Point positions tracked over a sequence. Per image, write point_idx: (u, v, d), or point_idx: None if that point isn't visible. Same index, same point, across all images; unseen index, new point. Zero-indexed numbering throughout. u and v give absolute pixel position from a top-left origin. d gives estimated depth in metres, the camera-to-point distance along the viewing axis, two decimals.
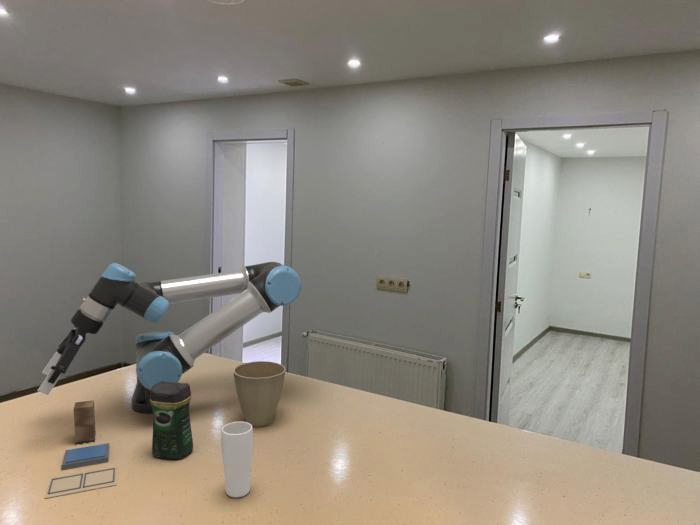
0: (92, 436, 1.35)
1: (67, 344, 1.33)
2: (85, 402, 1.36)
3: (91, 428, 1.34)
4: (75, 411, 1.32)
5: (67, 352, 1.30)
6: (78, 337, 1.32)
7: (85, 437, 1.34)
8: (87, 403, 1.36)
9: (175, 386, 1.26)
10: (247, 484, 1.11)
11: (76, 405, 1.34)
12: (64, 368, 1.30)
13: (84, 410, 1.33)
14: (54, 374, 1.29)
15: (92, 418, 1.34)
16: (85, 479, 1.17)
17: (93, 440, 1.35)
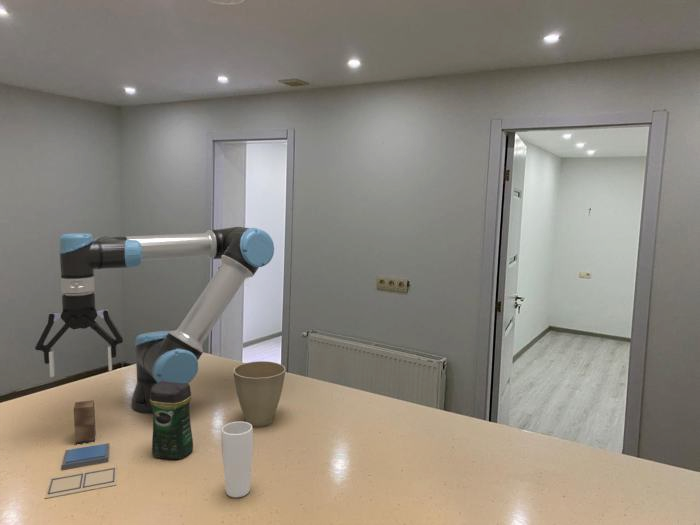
0: (92, 436, 1.35)
1: (96, 325, 1.33)
2: (85, 402, 1.36)
3: (92, 428, 1.34)
4: (75, 411, 1.32)
5: (114, 326, 1.35)
6: (107, 310, 1.34)
7: (85, 437, 1.34)
8: (87, 403, 1.36)
9: (175, 386, 1.26)
10: (247, 484, 1.11)
11: (76, 405, 1.34)
12: (113, 339, 1.37)
13: (84, 410, 1.33)
14: (115, 348, 1.36)
15: (92, 418, 1.34)
16: (85, 479, 1.17)
17: (93, 440, 1.35)
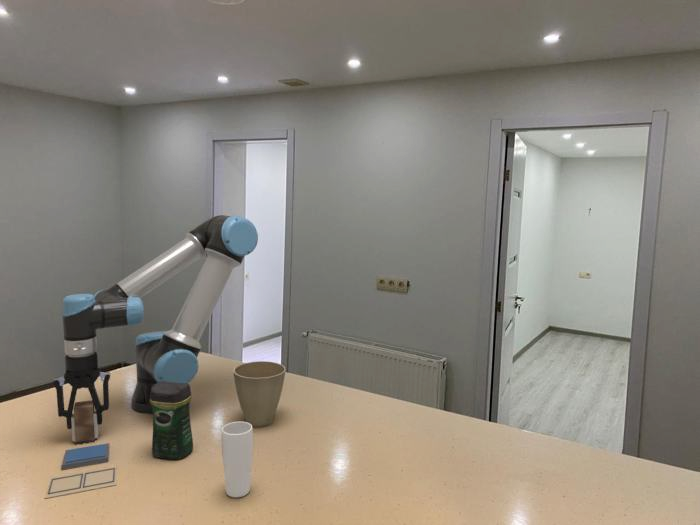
0: (92, 436, 1.35)
1: (93, 388, 1.34)
2: (85, 402, 1.36)
3: (91, 428, 1.34)
4: (75, 411, 1.32)
5: (108, 392, 1.36)
6: None
7: (85, 437, 1.34)
8: (87, 403, 1.36)
9: (175, 386, 1.26)
10: (247, 484, 1.11)
11: (76, 405, 1.34)
12: (101, 406, 1.38)
13: (84, 410, 1.33)
14: (101, 415, 1.37)
15: (92, 418, 1.34)
16: (85, 479, 1.17)
17: (93, 440, 1.35)
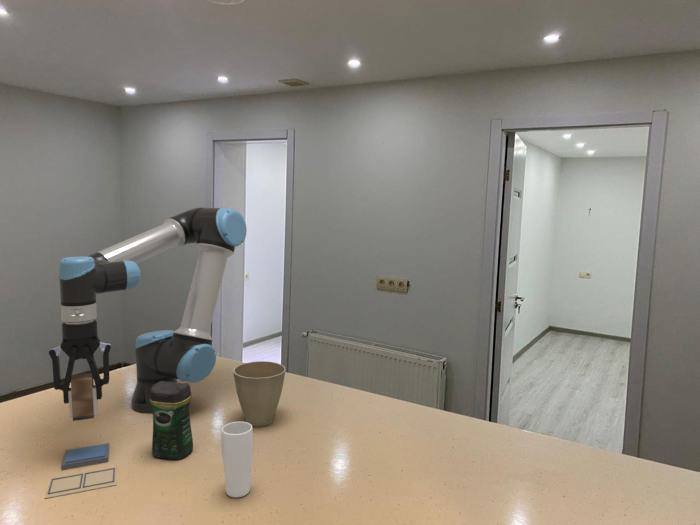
0: (91, 411, 1.24)
1: (92, 359, 1.23)
2: (83, 375, 1.25)
3: (90, 403, 1.23)
4: (72, 384, 1.21)
5: (108, 364, 1.25)
6: (110, 346, 1.25)
7: (83, 412, 1.23)
8: (86, 376, 1.25)
9: (175, 386, 1.26)
10: (247, 484, 1.11)
11: (73, 378, 1.23)
12: None
13: (83, 383, 1.22)
14: None
15: (91, 392, 1.23)
16: (85, 479, 1.17)
17: (92, 416, 1.24)
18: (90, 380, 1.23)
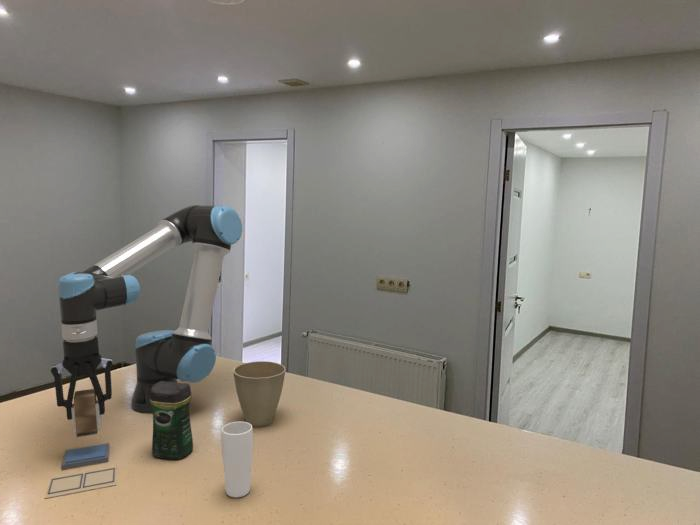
0: (94, 427, 1.25)
1: (94, 376, 1.24)
2: (86, 391, 1.26)
3: (94, 419, 1.24)
4: (75, 400, 1.22)
5: (110, 379, 1.26)
6: None
7: (87, 428, 1.24)
8: (88, 392, 1.25)
9: (175, 386, 1.26)
10: (247, 484, 1.11)
11: (76, 394, 1.24)
12: (103, 395, 1.27)
13: (85, 400, 1.23)
14: (104, 404, 1.27)
15: (94, 408, 1.24)
16: (85, 479, 1.17)
17: (95, 431, 1.25)
18: (93, 396, 1.24)
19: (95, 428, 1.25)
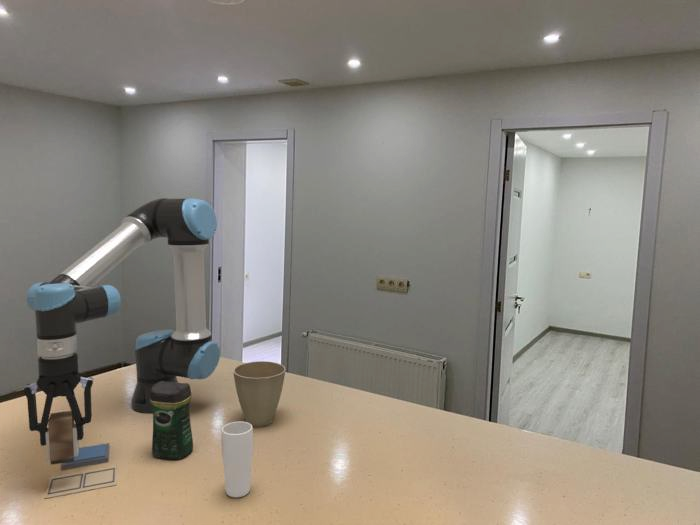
0: (71, 454, 1.12)
1: (72, 397, 1.12)
2: (63, 413, 1.14)
3: (70, 445, 1.12)
4: (50, 424, 1.10)
5: (90, 401, 1.14)
6: (92, 381, 1.14)
7: (62, 455, 1.12)
8: (65, 414, 1.13)
9: (175, 386, 1.26)
10: (247, 484, 1.11)
11: (51, 417, 1.12)
12: None
13: (61, 423, 1.11)
14: (82, 428, 1.14)
15: (71, 432, 1.12)
16: (85, 479, 1.17)
17: (72, 459, 1.13)
18: (70, 420, 1.11)
19: (71, 455, 1.12)
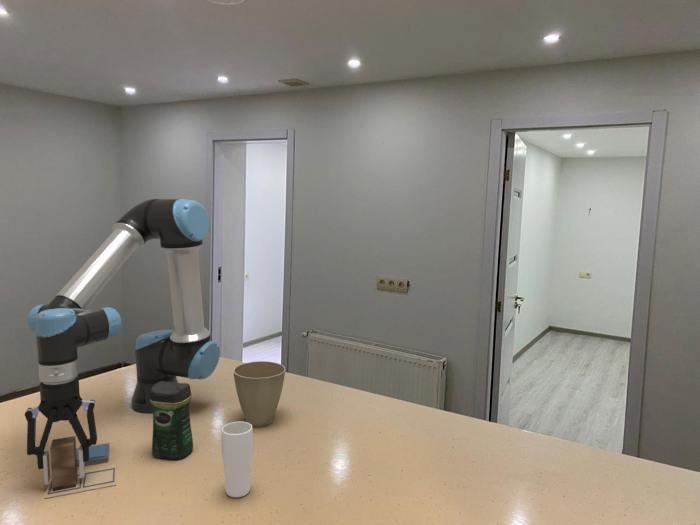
0: (73, 480, 1.13)
1: (75, 420, 1.13)
2: (65, 439, 1.15)
3: (72, 471, 1.13)
4: (52, 451, 1.11)
5: (94, 423, 1.15)
6: (94, 404, 1.15)
7: (64, 481, 1.13)
8: (67, 440, 1.14)
9: (175, 386, 1.26)
10: (247, 484, 1.11)
11: (53, 444, 1.12)
12: (87, 439, 1.16)
13: (63, 450, 1.12)
14: (88, 450, 1.16)
15: (73, 459, 1.13)
16: (85, 479, 1.17)
17: (74, 485, 1.13)
18: (72, 446, 1.12)
19: (74, 481, 1.13)
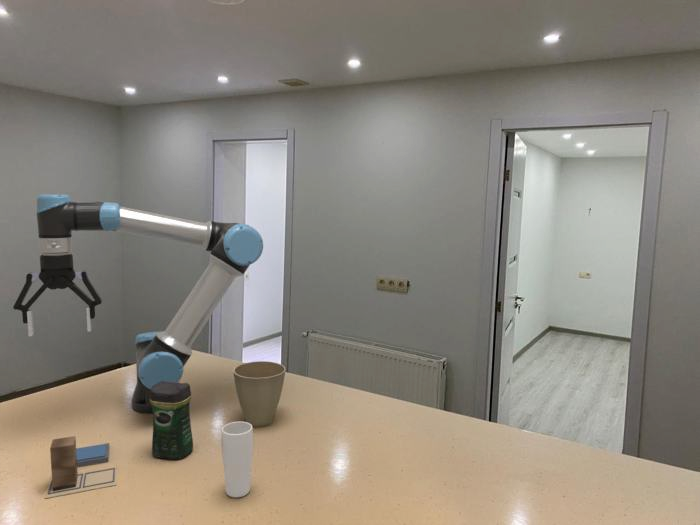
0: (73, 480, 1.13)
1: (74, 286, 1.34)
2: (65, 439, 1.15)
3: (72, 471, 1.13)
4: (52, 451, 1.11)
5: (92, 287, 1.36)
6: (85, 272, 1.36)
7: (64, 481, 1.13)
8: (67, 440, 1.14)
9: (175, 386, 1.26)
10: (247, 484, 1.11)
11: (53, 444, 1.12)
12: None
13: (63, 450, 1.12)
14: None
15: (73, 459, 1.13)
16: (85, 479, 1.17)
17: (74, 485, 1.13)
18: (72, 446, 1.12)
19: (74, 481, 1.13)
